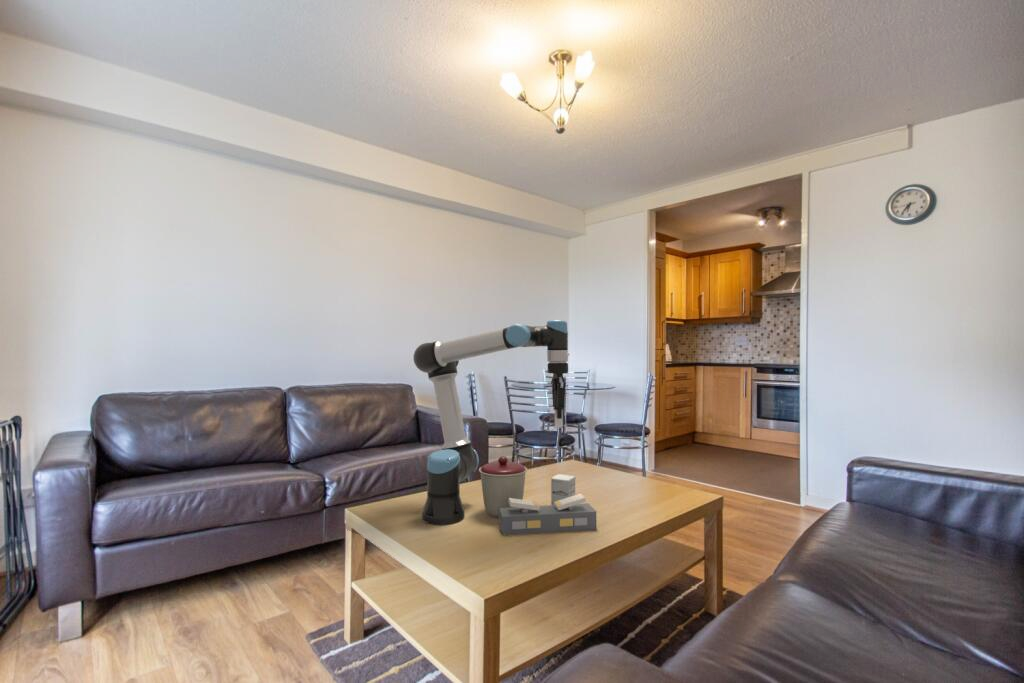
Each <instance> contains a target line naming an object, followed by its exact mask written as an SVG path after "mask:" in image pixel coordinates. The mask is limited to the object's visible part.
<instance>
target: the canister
mask: <svg viewBox="0 0 1024 683" xmlns="http://www.w3.org/2000/svg"><path fill="white" fill-rule="evenodd" d="M478 472H479V473H480V480H481V482H480V483H481V491H482V498H483V505H484V509H485V512H486V513H487V514H488V515H489V516H490V517H493V518H498V519H499V508H508V507H510V505H509V502H508V500H509V498H514V499H521V500H524V493H525V492H524V491H525V480H526V473H527V472H528V468H527V467H526V466H524V465H523V464H522V463H519V462H514V461H508V457H507V456H504V455H503V456H500V457H499V458H498V460H497V461H493V462H489V463H485V464H483V466H481V467H479V468H478Z"/></svg>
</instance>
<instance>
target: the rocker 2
mask: <svg viewBox="0 0 1024 683" xmlns="http://www.w3.org/2000/svg"><path fill="white" fill-rule="evenodd" d="M586 502H587V500H586V497H585V496H584V495H583V494H582V493H578V494H575V495H574V496H571V497H568V498H565V499H562V500H558V501H555V502H554V504H555V507H556V508H557V509H558V510H561V509H565V508H568V507H571V506H574V505H577V504H584V503H586Z"/></svg>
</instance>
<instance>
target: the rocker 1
mask: <svg viewBox="0 0 1024 683" xmlns="http://www.w3.org/2000/svg"><path fill="white" fill-rule="evenodd" d="M508 502H509V505H510V507H517V508H524V509H531V510H538V511H539V509H540V506H541V505H540V504H539V502H538V501H534V500H526V499H523V500H521V499H514V498H509V500H508Z"/></svg>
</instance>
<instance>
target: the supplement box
mask: <svg viewBox="0 0 1024 683" xmlns="http://www.w3.org/2000/svg"><path fill="white" fill-rule="evenodd" d="M550 481H551V482H550V483H551V484H550V485H551V486H550V487H551V488H550V489H551V490H550V491H551V493H550V494H551V497H550V498H551V500H550V502H551V504H550V505H555V504H554V502H555V501H558V500H562V499H565V498H568V497H571V496H574V495H576V476H575V475H567V474H561V473H558V474H556V475H554V476H553V477H551V480H550Z"/></svg>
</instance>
